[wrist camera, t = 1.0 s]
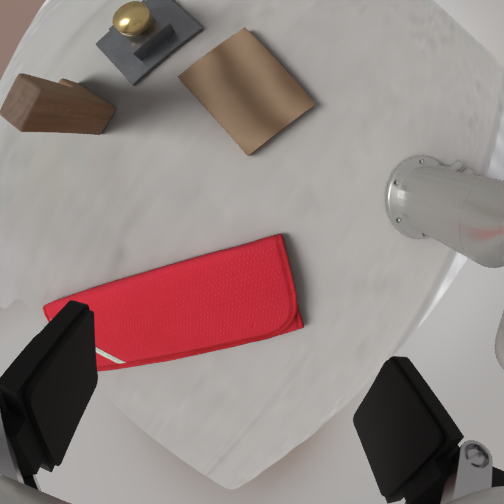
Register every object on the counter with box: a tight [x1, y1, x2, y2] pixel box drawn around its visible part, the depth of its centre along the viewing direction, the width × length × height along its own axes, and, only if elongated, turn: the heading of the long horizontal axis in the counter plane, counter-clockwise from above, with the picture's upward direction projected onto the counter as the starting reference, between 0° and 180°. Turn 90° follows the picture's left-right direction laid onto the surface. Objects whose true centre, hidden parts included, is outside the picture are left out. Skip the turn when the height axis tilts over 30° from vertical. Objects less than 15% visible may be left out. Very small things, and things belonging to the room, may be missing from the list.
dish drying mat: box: [43, 234, 304, 371], centre depth 44 cm, size 16×41×4 cm, turn 106°
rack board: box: [178, 28, 315, 156], centre depth 35 cm, size 11×14×2 cm
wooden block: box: [0, 74, 116, 135], centre depth 26 cm, size 9×4×18 cm, turn 53°
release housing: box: [96, 0, 203, 86], centre depth 30 cm, size 12×10×4 cm
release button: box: [113, 1, 152, 36], centre depth 26 cm, size 4×4×2 cm
